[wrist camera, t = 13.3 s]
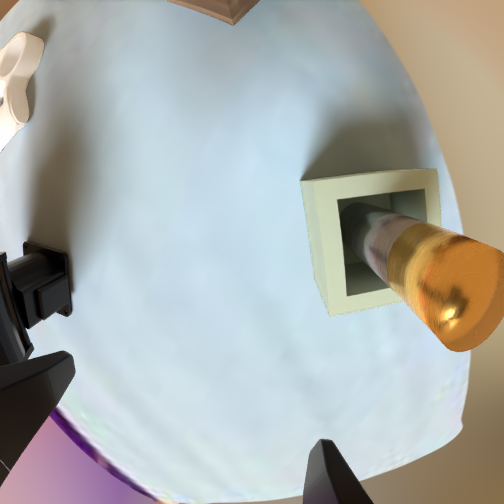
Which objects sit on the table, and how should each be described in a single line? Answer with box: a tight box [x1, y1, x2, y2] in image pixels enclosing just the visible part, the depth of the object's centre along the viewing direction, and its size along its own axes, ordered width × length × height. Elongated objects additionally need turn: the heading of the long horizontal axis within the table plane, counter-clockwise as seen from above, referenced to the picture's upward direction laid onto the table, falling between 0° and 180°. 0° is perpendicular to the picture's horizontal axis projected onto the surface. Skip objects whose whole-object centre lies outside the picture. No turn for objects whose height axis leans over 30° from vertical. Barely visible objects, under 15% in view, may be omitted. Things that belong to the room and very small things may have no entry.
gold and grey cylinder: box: [339, 202, 504, 352], centre depth 12 cm, size 3×3×12 cm
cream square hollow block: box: [300, 169, 442, 317], centre depth 16 cm, size 7×7×6 cm
